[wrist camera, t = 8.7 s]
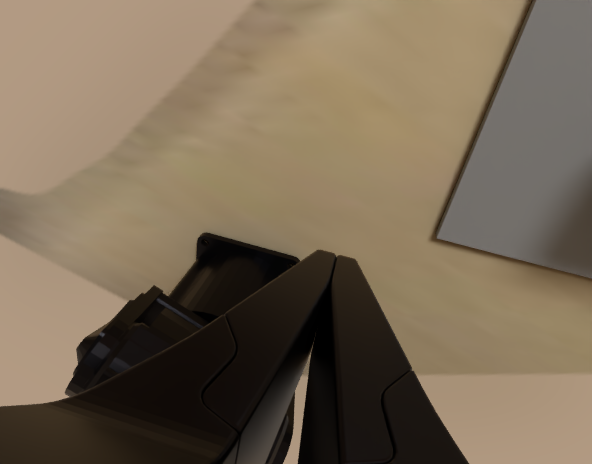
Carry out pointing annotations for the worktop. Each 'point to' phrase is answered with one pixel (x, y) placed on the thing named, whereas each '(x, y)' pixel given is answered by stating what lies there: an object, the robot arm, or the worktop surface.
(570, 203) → the mat
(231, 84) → the worktop surface
